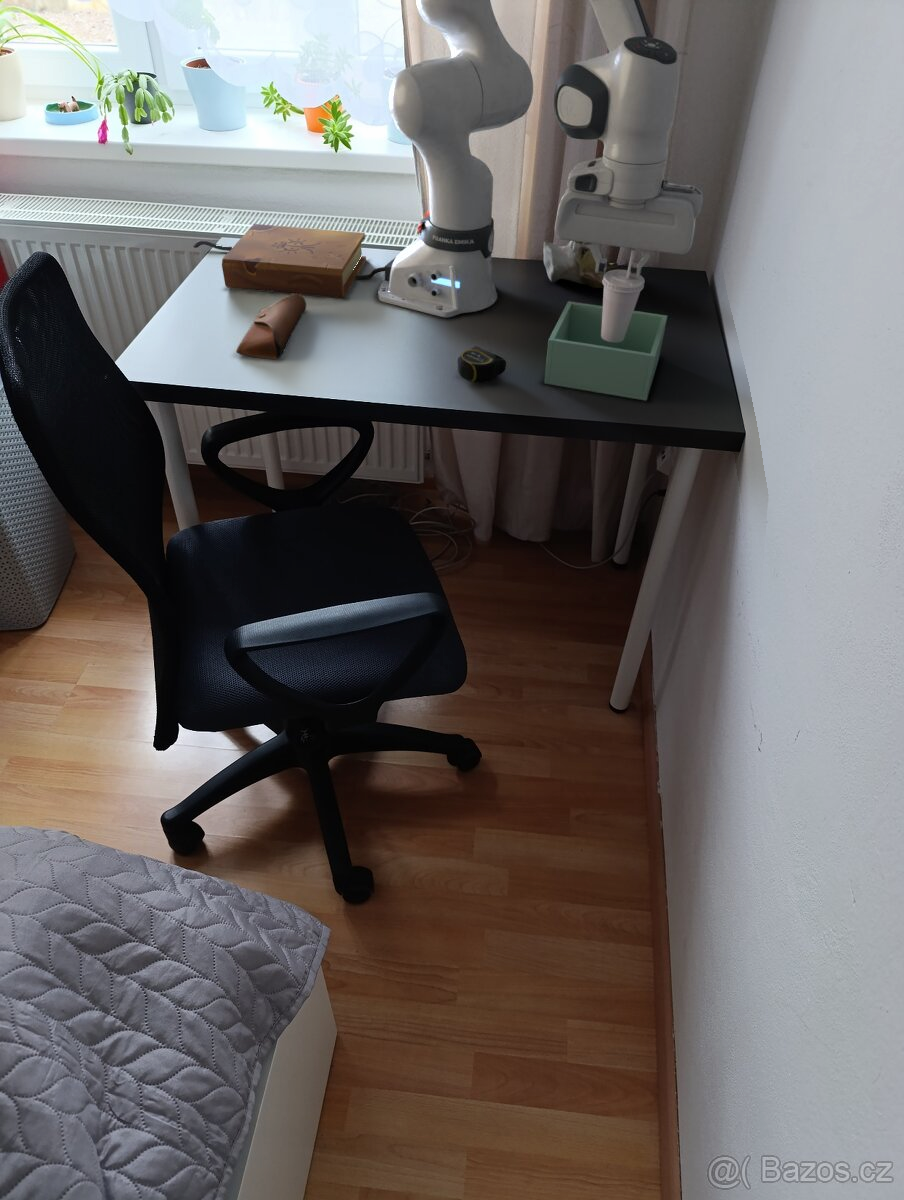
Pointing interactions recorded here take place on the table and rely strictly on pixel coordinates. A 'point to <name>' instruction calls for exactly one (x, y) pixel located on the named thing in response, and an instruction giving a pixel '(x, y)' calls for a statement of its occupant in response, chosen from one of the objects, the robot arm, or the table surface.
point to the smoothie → (619, 301)
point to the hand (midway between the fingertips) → (617, 274)
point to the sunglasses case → (273, 328)
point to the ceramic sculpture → (573, 263)
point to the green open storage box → (604, 353)
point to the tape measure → (480, 365)
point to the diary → (294, 261)
